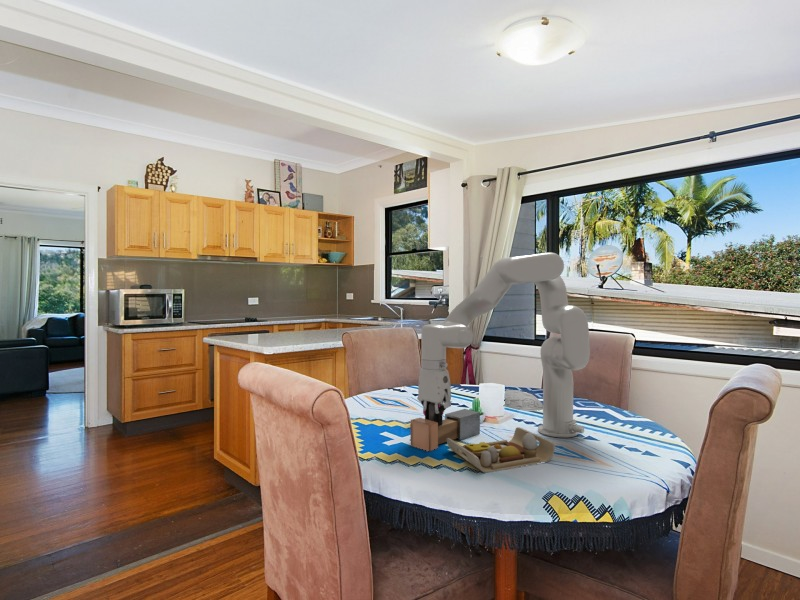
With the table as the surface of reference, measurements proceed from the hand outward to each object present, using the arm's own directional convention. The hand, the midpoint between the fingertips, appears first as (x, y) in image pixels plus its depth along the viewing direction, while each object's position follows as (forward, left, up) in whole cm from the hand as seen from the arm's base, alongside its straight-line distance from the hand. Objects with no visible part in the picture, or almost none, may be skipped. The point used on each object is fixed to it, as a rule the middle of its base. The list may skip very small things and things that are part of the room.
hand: (433, 423), depth 145 cm
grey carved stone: (+11, -63, -7) cm, 64 cm away
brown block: (0, +4, -6) cm, 7 cm away
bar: (0, -4, -6) cm, 7 cm away
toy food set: (-20, -6, -7) cm, 22 cm away
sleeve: (0, -14, -6) cm, 15 cm away
